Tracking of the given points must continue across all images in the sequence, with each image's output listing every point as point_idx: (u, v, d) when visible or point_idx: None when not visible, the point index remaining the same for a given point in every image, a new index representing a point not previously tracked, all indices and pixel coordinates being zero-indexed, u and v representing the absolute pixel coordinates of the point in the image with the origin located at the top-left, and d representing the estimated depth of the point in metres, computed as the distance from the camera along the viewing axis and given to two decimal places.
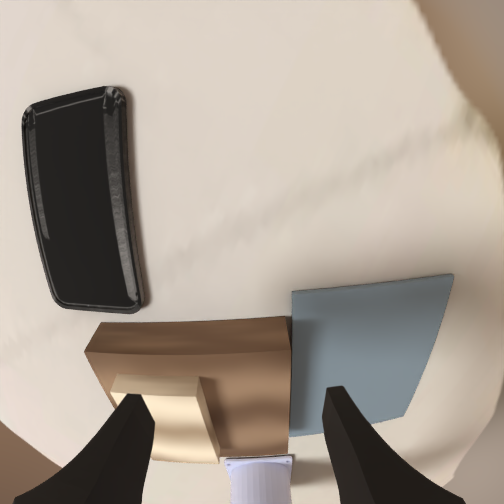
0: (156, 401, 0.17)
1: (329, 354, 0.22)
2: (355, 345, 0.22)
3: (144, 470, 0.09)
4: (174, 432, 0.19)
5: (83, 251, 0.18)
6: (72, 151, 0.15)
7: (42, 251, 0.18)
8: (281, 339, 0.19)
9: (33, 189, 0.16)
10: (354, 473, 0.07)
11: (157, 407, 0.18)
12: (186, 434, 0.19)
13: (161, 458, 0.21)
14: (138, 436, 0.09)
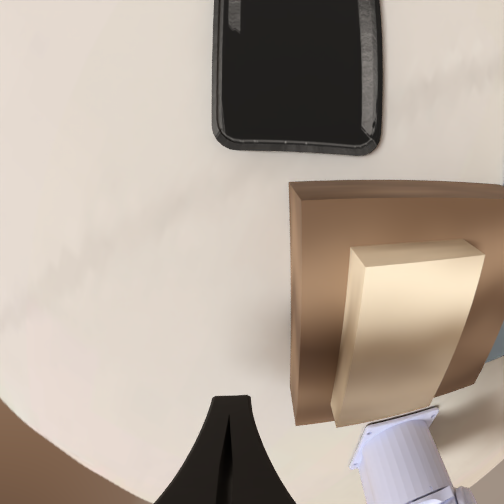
0: (435, 273, 0.10)
1: None
2: None
3: (233, 475, 0.09)
4: (420, 348, 0.12)
5: (304, 52, 0.11)
6: None
7: (218, 49, 0.11)
8: None
9: None
10: None
11: (429, 289, 0.11)
12: (432, 348, 0.12)
13: (355, 419, 0.14)
14: None
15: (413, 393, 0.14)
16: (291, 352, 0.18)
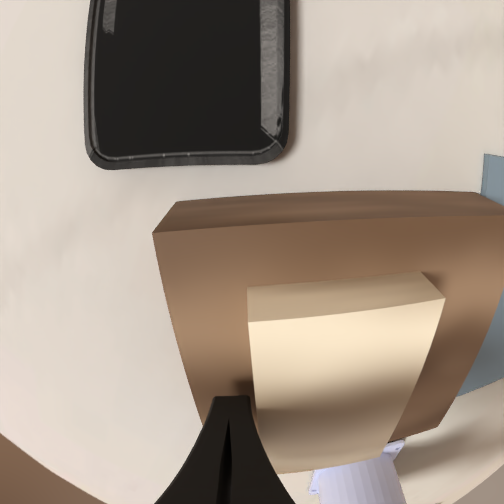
0: (362, 327, 0.08)
1: None
2: None
3: None
4: (352, 408, 0.10)
5: (184, 42, 0.09)
6: None
7: (91, 57, 0.09)
8: (500, 207, 0.10)
9: None
10: None
11: (356, 346, 0.08)
12: (371, 407, 0.10)
13: (284, 470, 0.12)
14: None
15: (354, 448, 0.11)
16: None
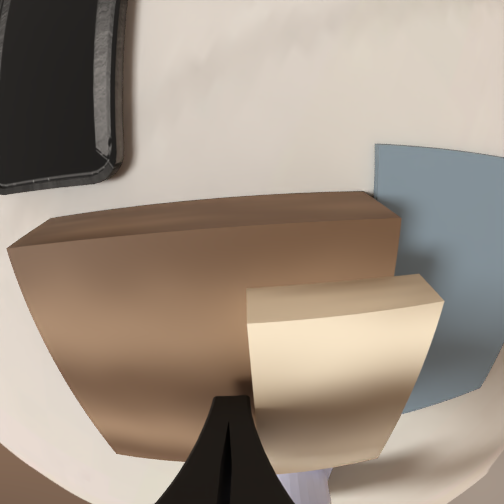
0: (361, 329, 0.08)
1: (423, 272, 0.13)
2: (456, 256, 0.13)
3: None
4: (351, 409, 0.10)
5: (41, 83, 0.09)
6: None
7: None
8: (375, 208, 0.10)
9: None
10: None
11: (354, 348, 0.08)
12: (370, 409, 0.10)
13: (282, 470, 0.12)
14: None
15: (352, 449, 0.11)
16: None
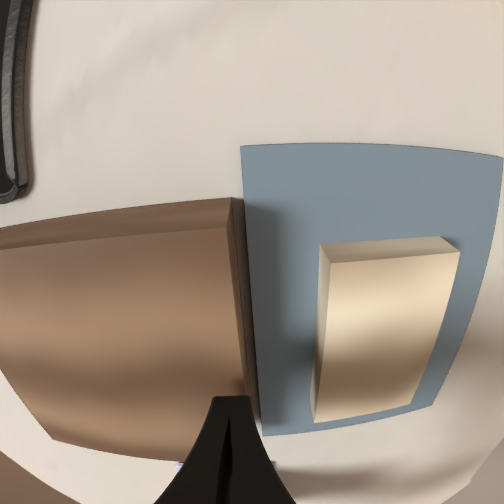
0: None
1: None
2: None
3: (233, 475, 0.09)
4: None
5: None
6: None
7: None
8: (212, 217, 0.10)
9: None
10: None
11: None
12: None
13: None
14: None
15: None
16: None
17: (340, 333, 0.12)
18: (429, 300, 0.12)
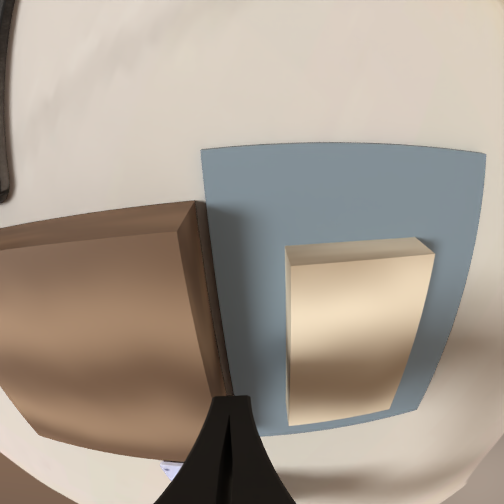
0: None
1: (285, 285, 0.13)
2: None
3: None
4: None
5: None
6: None
7: None
8: (168, 221, 0.10)
9: None
10: None
11: None
12: None
13: None
14: None
15: None
16: None
17: (307, 336, 0.12)
18: (402, 304, 0.12)
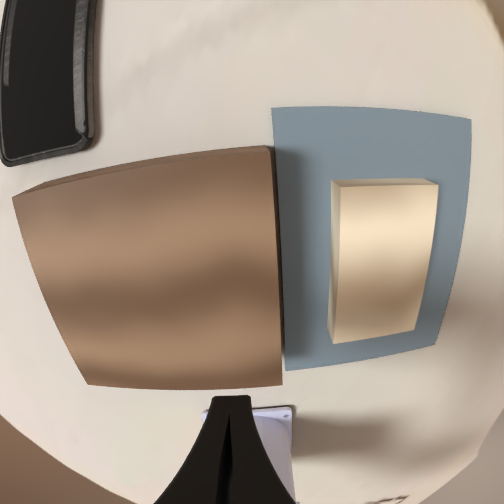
0: None
1: None
2: None
3: (233, 475, 0.09)
4: None
5: (38, 86, 0.13)
6: None
7: None
8: (257, 150, 0.13)
9: (4, 41, 0.11)
10: None
11: None
12: None
13: None
14: None
15: None
16: None
17: (351, 247, 0.16)
18: (418, 223, 0.15)
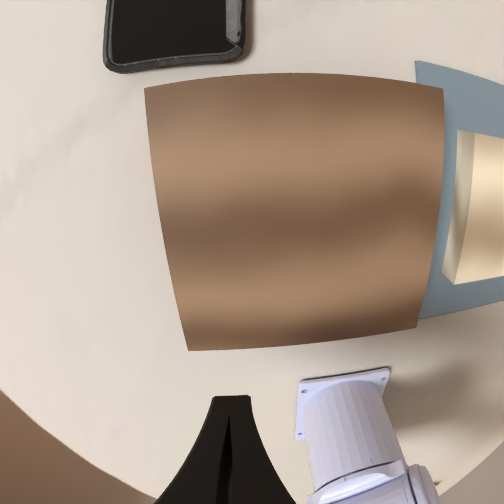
0: None
1: (456, 157, 0.15)
2: None
3: (233, 475, 0.09)
4: None
5: None
6: None
7: (111, 3, 0.11)
8: None
9: None
10: None
11: None
12: None
13: None
14: None
15: None
16: None
17: (478, 187, 0.14)
18: None
